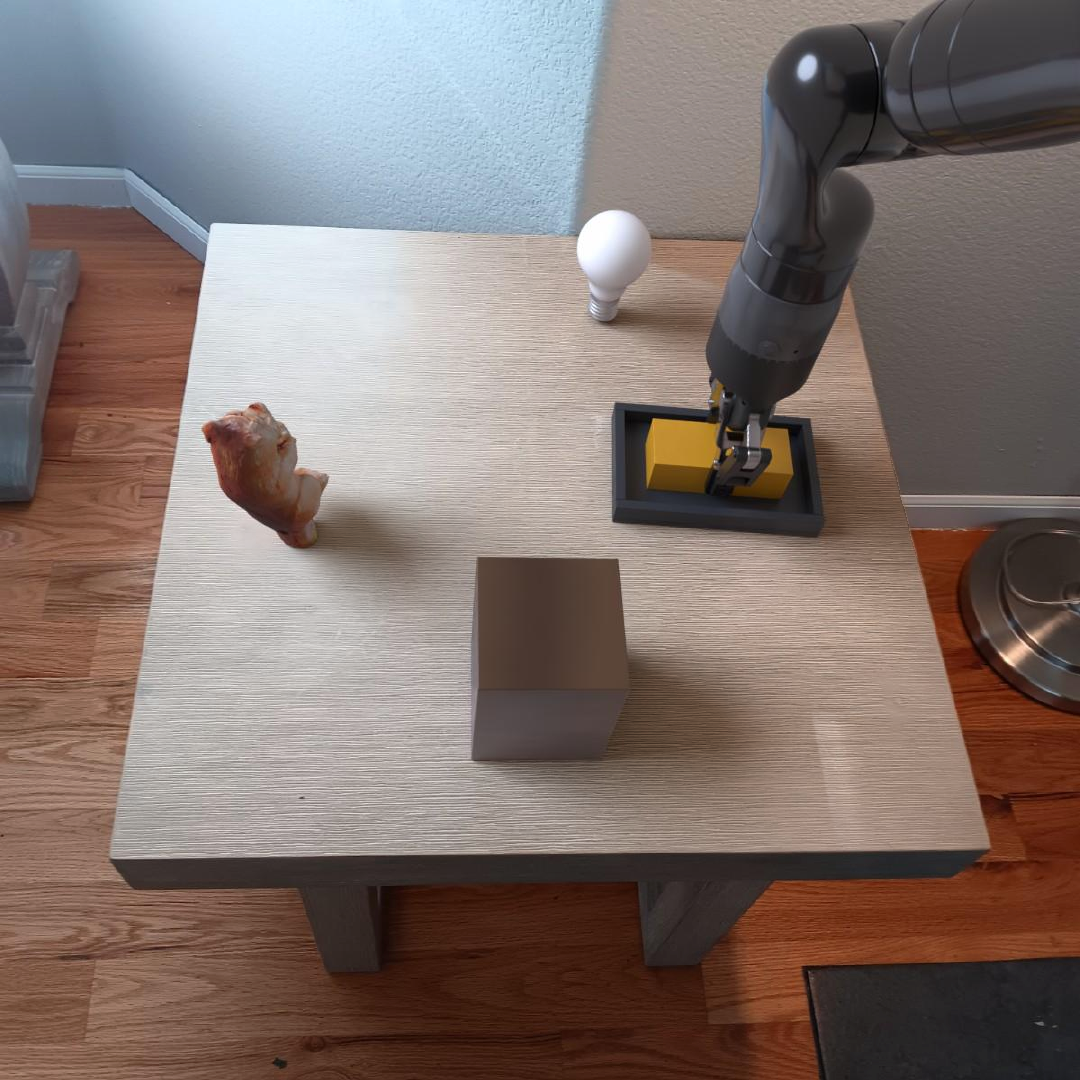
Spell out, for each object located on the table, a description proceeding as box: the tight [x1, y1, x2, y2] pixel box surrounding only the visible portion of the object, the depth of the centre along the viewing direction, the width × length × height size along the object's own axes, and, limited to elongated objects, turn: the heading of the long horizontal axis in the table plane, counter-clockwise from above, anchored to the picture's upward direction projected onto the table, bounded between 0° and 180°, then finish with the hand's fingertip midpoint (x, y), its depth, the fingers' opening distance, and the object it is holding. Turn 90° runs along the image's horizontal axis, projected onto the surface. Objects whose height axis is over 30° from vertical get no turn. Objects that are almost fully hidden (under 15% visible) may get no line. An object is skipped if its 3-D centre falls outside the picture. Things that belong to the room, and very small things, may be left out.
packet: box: [645, 418, 793, 499], centre depth 81 cm, size 11×4×4 cm, turn 88°
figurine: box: [200, 401, 330, 549], centre depth 70 cm, size 6×8×15 cm
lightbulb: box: [576, 209, 653, 322], centre depth 87 cm, size 6×6×11 cm
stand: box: [470, 556, 631, 761], centre depth 66 cm, size 9×9×12 cm
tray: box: [610, 401, 826, 538], centre depth 82 cm, size 11×17×2 cm, turn 88°
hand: (715, 465), depth 82 cm, fingers closed on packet, 4 cm apart
